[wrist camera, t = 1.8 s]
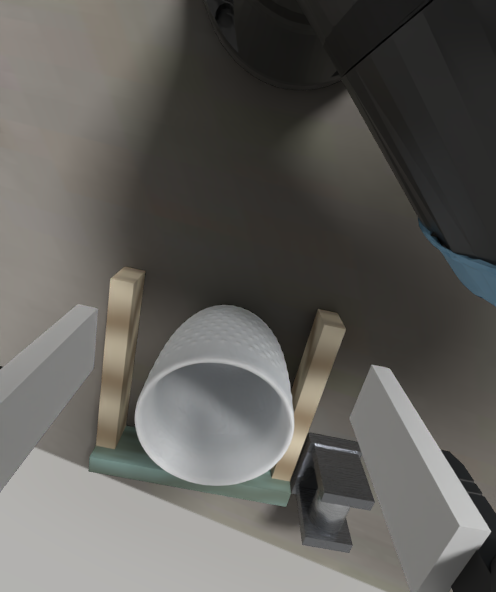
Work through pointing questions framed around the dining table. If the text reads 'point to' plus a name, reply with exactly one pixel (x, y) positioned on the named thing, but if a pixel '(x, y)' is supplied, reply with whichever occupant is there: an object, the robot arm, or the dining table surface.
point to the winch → (329, 490)
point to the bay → (117, 385)
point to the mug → (217, 400)
